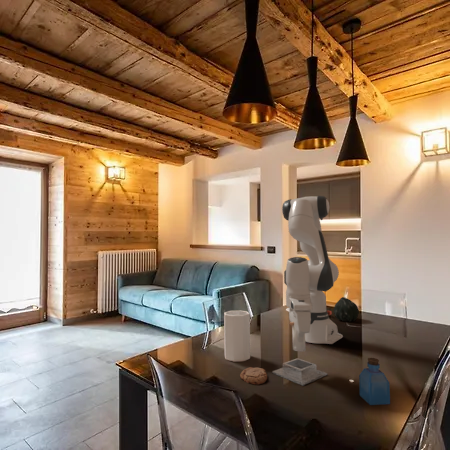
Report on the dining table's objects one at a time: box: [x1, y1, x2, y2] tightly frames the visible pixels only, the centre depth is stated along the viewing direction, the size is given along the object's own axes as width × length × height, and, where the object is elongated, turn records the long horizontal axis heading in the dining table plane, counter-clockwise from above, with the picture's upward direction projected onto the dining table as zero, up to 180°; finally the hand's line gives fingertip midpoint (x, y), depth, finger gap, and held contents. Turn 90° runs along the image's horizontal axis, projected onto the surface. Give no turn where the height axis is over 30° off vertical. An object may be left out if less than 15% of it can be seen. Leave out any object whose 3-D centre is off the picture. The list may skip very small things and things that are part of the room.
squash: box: [333, 296, 360, 322], centre depth 202 cm, size 14×15×15 cm
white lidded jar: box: [289, 321, 307, 352], centre depth 121 cm, size 5×6×10 cm
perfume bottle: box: [358, 357, 391, 406], centre depth 100 cm, size 6×6×12 cm
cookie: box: [239, 366, 268, 385], centre depth 117 cm, size 10×11×3 cm
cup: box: [223, 309, 251, 363], centre depth 138 cm, size 11×11×18 cm
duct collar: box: [272, 358, 328, 387], centre depth 120 cm, size 14×14×4 cm
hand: (298, 339), depth 120 cm, fingers closed on white lidded jar, 5 cm apart
